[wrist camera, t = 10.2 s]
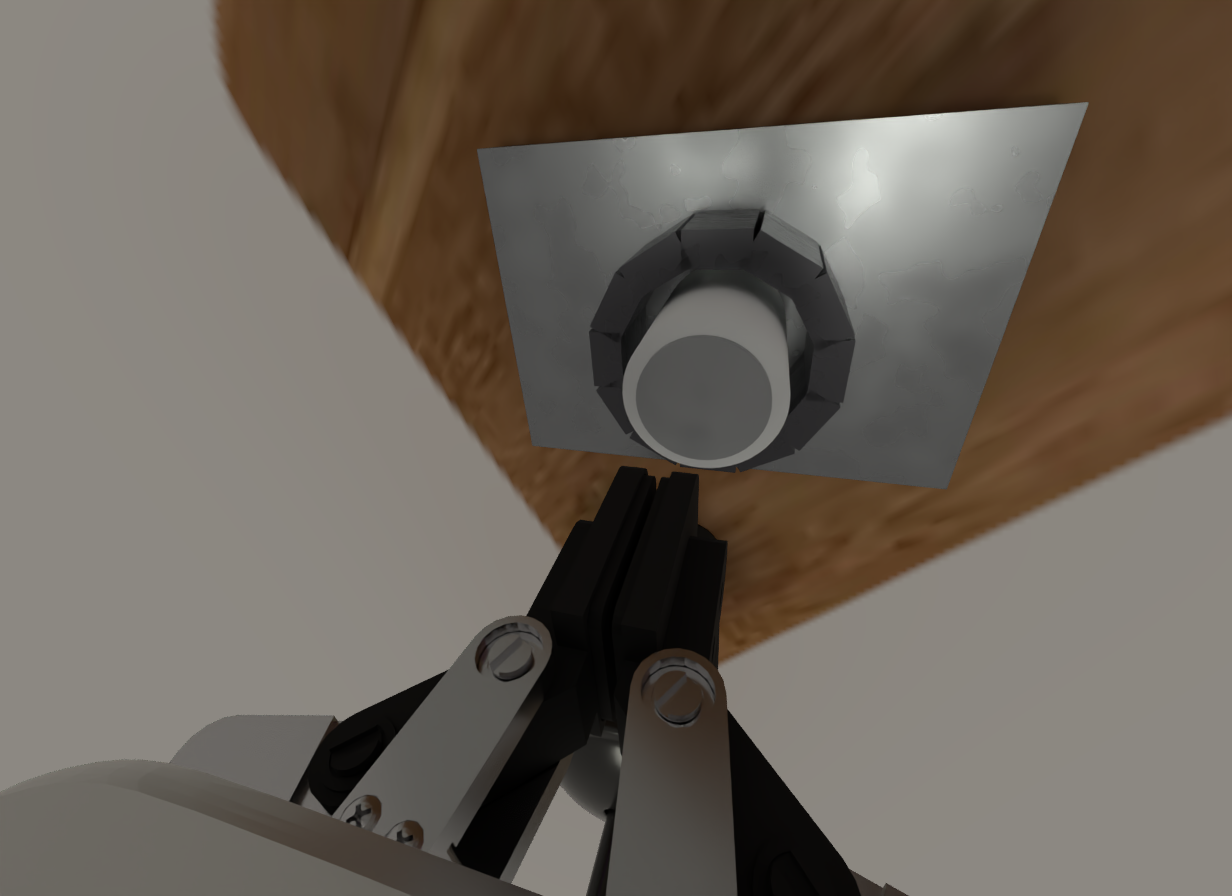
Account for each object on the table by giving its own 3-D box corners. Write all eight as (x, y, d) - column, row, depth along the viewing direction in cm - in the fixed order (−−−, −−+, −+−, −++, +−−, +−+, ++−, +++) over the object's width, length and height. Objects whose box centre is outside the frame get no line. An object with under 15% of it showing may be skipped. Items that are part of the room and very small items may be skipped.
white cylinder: (655, 271, 20) (606, 329, 14) (785, 253, 19) (789, 311, 13) (671, 383, 23) (634, 473, 17) (786, 376, 21) (791, 473, 15)
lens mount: (500, 146, 21) (416, 154, 16) (1058, 103, 16) (1175, 97, 11) (546, 427, 29) (498, 489, 24) (935, 464, 23) (973, 553, 19)
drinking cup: (764, 526, 28) (731, 1060, 12) (722, 606, 33) (658, 1072, 17) (637, 483, 29) (453, 927, 13) (613, 566, 34) (455, 972, 18)
